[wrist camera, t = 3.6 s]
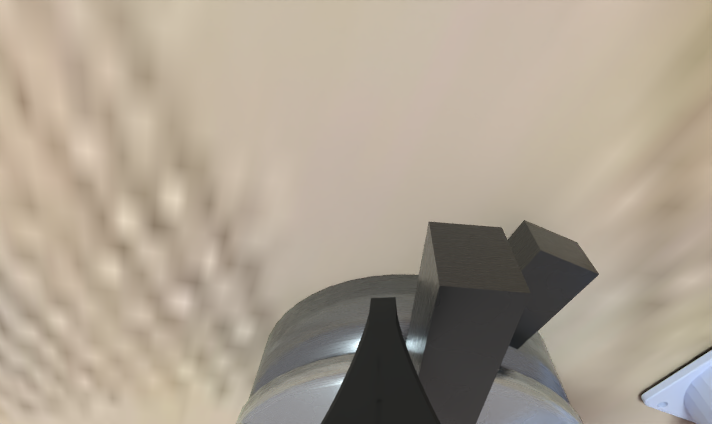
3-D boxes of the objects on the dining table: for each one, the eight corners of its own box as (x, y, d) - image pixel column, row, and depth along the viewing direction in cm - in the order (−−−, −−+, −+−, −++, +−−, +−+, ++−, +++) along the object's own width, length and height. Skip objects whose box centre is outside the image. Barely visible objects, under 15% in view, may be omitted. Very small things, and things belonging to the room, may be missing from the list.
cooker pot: (450, 468, 27) (459, 538, 24) (236, 406, 25) (213, 475, 21) (694, 281, 17) (772, 361, 13) (360, 137, 14) (351, 191, 11)
